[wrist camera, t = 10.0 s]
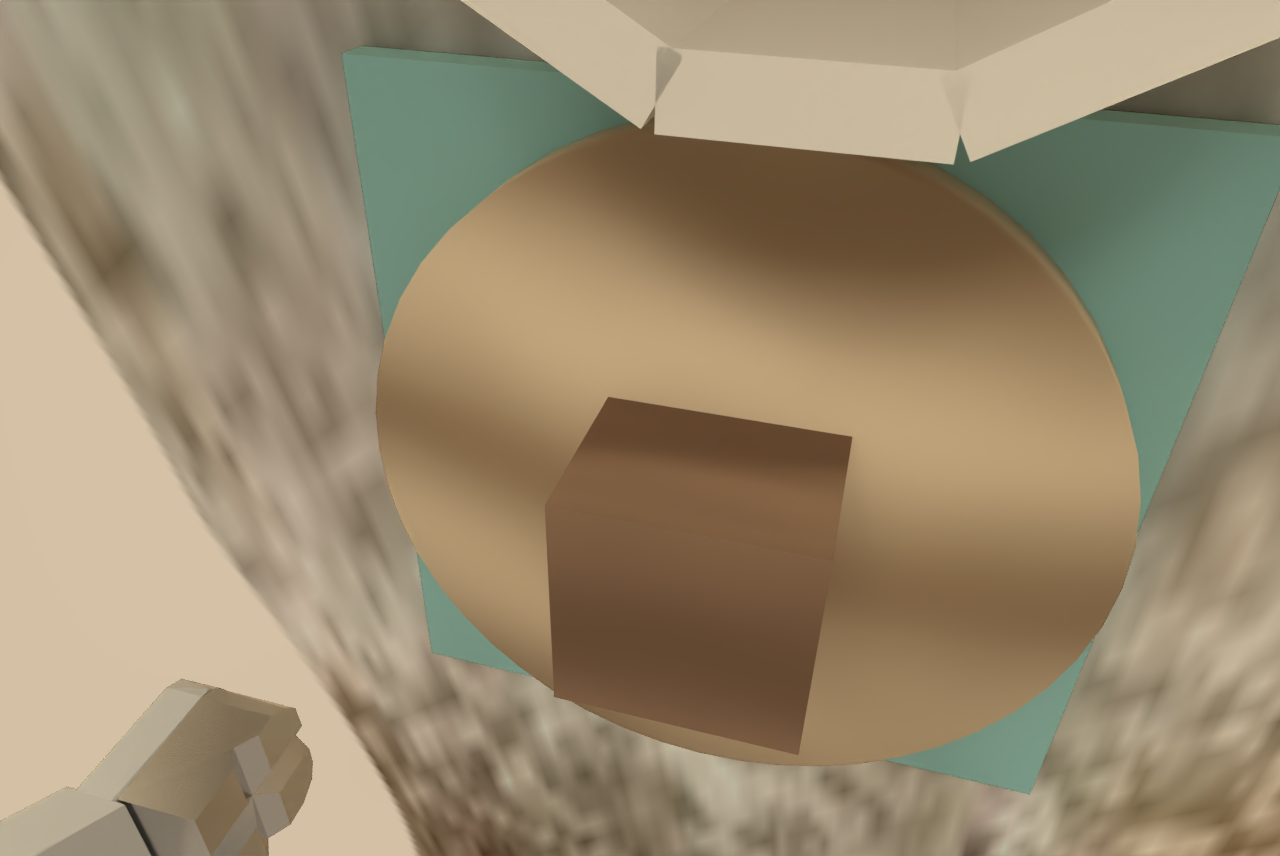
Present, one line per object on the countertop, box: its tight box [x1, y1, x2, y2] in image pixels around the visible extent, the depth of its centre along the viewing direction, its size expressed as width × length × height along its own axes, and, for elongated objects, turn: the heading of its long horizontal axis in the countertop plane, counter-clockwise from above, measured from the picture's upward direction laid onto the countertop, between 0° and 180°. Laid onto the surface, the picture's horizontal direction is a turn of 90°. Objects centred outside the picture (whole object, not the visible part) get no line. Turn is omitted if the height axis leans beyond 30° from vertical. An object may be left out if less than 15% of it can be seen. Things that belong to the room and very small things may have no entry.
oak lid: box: [376, 117, 1141, 766], centre depth 15 cm, size 13×13×4 cm
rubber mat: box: [342, 46, 1280, 794], centre depth 17 cm, size 14×14×1 cm
